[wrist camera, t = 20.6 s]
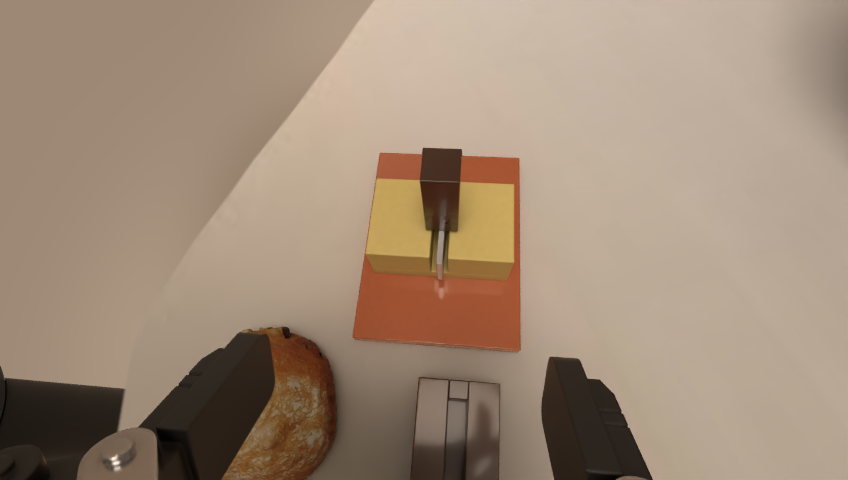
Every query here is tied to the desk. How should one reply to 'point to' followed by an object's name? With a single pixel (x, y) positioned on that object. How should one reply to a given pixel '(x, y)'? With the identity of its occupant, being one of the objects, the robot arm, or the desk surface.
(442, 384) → the brown slotted slab
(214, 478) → the robot arm
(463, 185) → the butter
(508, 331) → the butter dish
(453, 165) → the knife
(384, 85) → the desk surface
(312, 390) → the bread roll
